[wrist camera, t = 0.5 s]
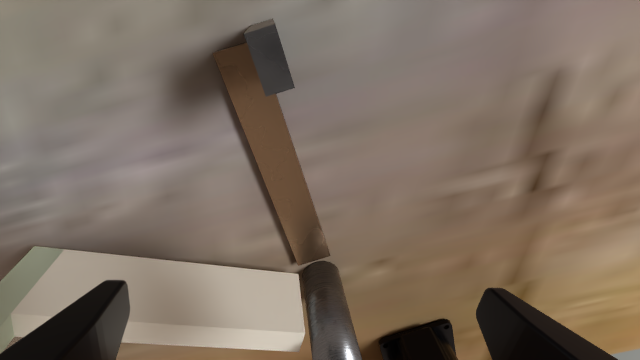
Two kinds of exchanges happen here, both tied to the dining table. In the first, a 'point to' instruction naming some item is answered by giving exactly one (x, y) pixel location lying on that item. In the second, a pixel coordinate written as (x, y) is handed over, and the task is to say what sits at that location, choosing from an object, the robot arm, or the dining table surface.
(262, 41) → the gate posts
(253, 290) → the gate
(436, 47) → the dining table surface
